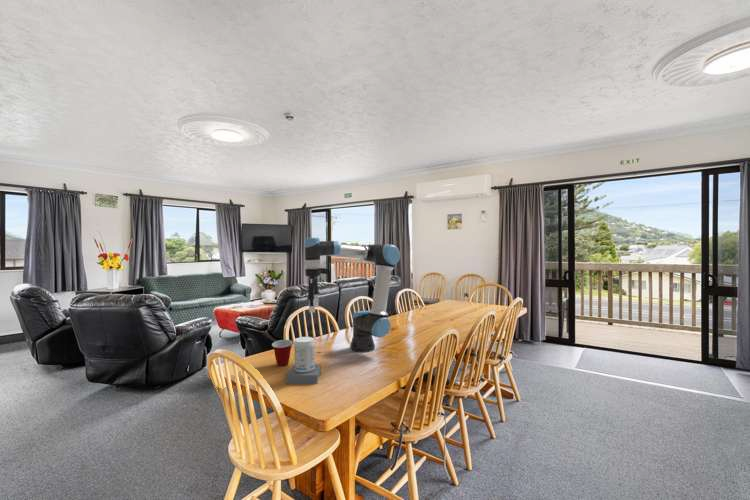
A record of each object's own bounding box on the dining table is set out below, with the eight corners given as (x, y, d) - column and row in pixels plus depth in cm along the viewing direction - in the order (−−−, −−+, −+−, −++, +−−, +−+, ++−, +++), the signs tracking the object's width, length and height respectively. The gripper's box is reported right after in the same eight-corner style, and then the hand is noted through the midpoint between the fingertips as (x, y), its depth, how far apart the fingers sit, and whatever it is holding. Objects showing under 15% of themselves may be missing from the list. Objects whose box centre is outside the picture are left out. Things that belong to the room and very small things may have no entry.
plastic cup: (267, 367, 180) (267, 344, 179) (279, 360, 190) (279, 338, 190) (285, 369, 176) (285, 346, 176) (296, 362, 186) (296, 340, 186)
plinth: (321, 372, 172) (321, 364, 172) (316, 383, 158) (316, 375, 158) (293, 372, 172) (293, 364, 172) (286, 383, 158) (286, 375, 158)
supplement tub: (308, 364, 172) (308, 335, 172) (318, 370, 165) (318, 339, 164) (290, 369, 166) (290, 338, 165) (300, 374, 158) (299, 343, 158)
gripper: (309, 266, 187) (310, 305, 188) (301, 270, 162) (302, 315, 163) (323, 265, 187) (324, 304, 188) (317, 270, 162) (318, 314, 163)
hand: (314, 309), depth 175 cm, fingers open, 13 cm apart
